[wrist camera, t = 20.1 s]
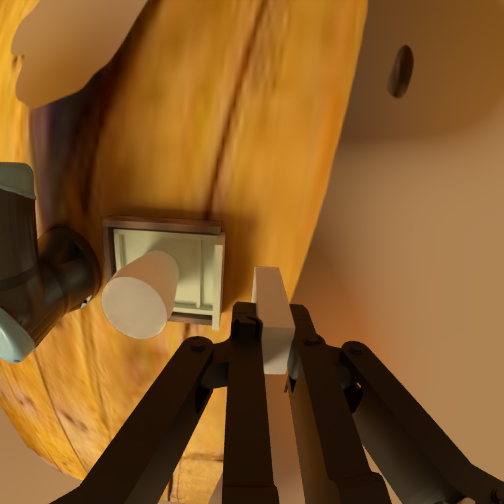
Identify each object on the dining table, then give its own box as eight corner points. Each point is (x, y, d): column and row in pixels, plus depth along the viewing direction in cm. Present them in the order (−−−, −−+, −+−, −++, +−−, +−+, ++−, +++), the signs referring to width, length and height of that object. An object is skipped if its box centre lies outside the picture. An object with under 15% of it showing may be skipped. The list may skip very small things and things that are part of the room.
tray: (125, 299, 45) (111, 317, 39) (118, 225, 40) (101, 236, 35) (222, 309, 46) (219, 330, 40) (226, 232, 41) (223, 245, 36)
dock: (118, 303, 46) (111, 313, 43) (110, 215, 40) (101, 220, 37) (217, 314, 47) (215, 325, 43) (222, 221, 41) (220, 226, 38)
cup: (185, 299, 44) (168, 345, 33) (133, 291, 43) (104, 332, 32) (188, 246, 41) (168, 281, 30) (132, 239, 40) (96, 269, 29)
